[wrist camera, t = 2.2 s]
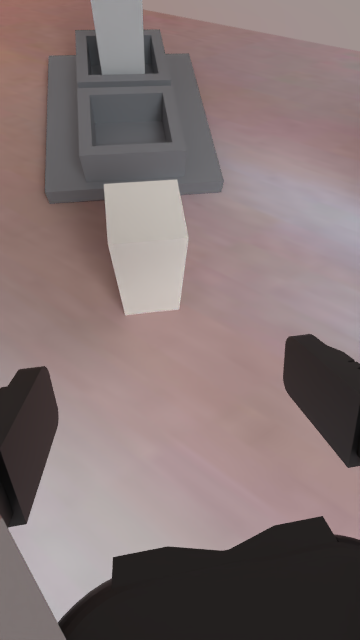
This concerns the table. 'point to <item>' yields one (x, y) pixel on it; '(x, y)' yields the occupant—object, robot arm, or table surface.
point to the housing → (124, 112)
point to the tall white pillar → (147, 243)
